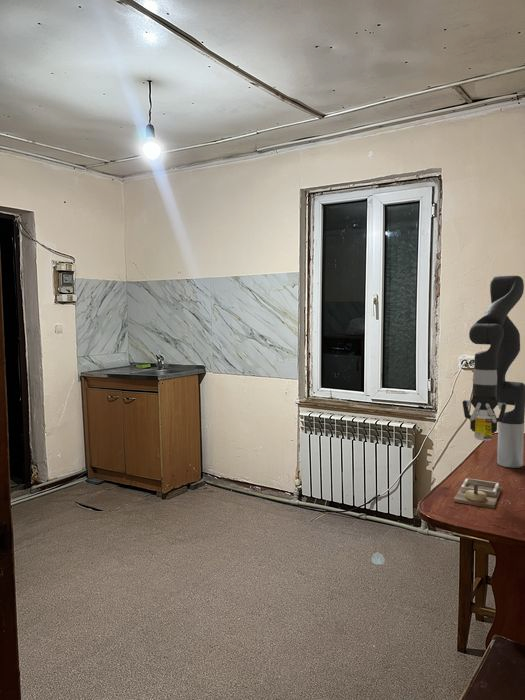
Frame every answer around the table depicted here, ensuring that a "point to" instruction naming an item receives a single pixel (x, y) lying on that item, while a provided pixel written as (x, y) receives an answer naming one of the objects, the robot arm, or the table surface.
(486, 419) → the supplement bottle
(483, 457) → the table surface
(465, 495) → the board
